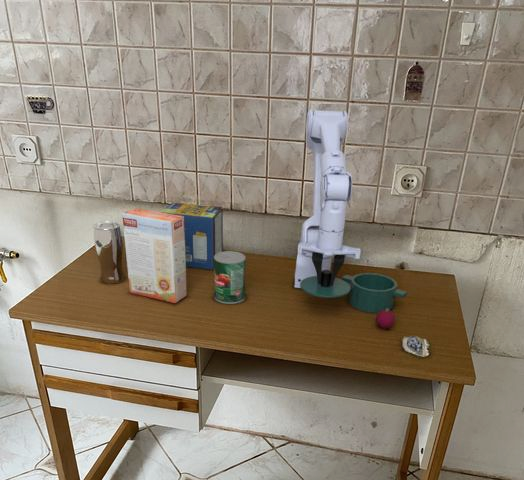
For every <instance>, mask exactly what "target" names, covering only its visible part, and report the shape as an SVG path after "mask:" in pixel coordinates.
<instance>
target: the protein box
mask: <svg viewBox="0 0 524 480" xmlns="http://www.w3.org/2000/svg"><path fill="white" fill-rule="evenodd" d="M223 211H224V210H223V207H222V206H216V205H215V206H213V205H202V204H194V203H193V204H192V203H181V202H172V203H170V204H169V205H168V206H166V207H165V208H164V209H162V210H161V211H160V212H161V213H167V214H173V215H179V216H184V233H185V258H186V268H194V269H203V270H210V271H214V255H215V254H217V253H219V252H224V240H223V239H224V236H223V235H224V234H223V233H224V232H223V229H224V226H223V225H224V224H223V223H224V222H223V221H224V218H223V217H224V214H223Z"/></svg>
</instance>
